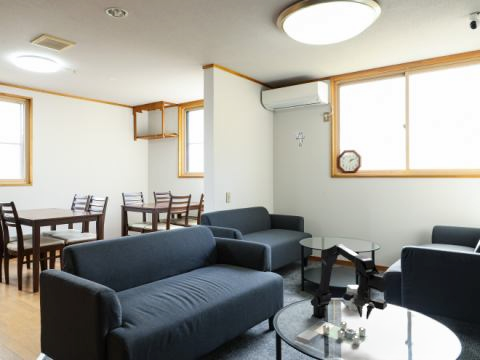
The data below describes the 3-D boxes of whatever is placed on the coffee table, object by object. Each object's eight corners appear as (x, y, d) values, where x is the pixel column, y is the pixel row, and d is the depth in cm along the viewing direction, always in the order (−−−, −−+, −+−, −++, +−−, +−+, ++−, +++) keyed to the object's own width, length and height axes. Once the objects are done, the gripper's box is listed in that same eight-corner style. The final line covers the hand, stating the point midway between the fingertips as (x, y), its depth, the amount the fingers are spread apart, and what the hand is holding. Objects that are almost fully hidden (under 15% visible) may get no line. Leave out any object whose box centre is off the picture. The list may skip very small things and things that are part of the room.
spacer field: (321, 334, 166) (322, 326, 166) (333, 325, 176) (333, 318, 176) (357, 346, 155) (358, 339, 155) (367, 336, 165) (368, 329, 165)
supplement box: (345, 305, 205) (346, 284, 205) (357, 305, 206) (358, 284, 205) (350, 310, 198) (351, 288, 197) (363, 310, 198) (363, 288, 198)
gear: (342, 337, 164) (342, 331, 164) (346, 333, 168) (346, 327, 168) (353, 341, 160) (353, 334, 160) (358, 336, 164) (358, 330, 164)
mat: (313, 332, 169) (313, 331, 169) (325, 324, 179) (325, 322, 179) (357, 348, 155) (357, 346, 155) (367, 337, 165) (367, 336, 165)
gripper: (338, 284, 159) (337, 317, 159) (379, 294, 147) (378, 330, 147) (348, 279, 167) (347, 310, 168) (387, 288, 155) (386, 321, 156)
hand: (364, 318), depth 159 cm, fingers open, 3 cm apart
